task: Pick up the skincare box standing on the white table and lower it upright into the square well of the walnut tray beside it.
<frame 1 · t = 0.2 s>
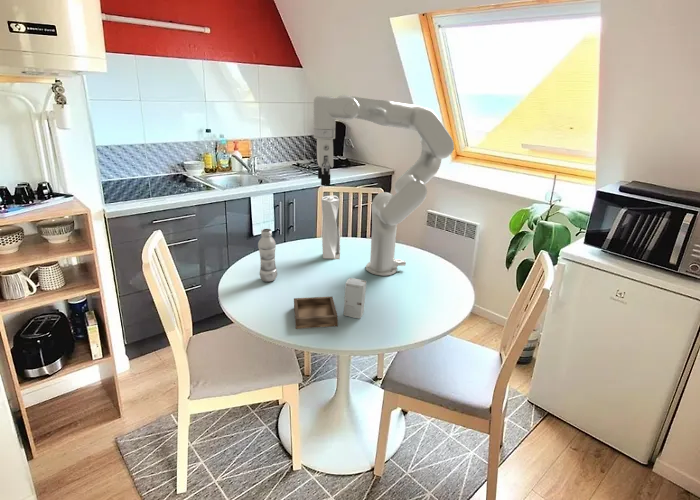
hand: (323, 181, 159), 37 cm above the table, tool pointing down, fingers open, 9 cm apart
skincare box: (354, 314, 145), on the table
plastic bottle: (268, 280, 166), on the table
skyscraper: (330, 257, 189), on the table
walnut tray: (315, 316, 143), on the table
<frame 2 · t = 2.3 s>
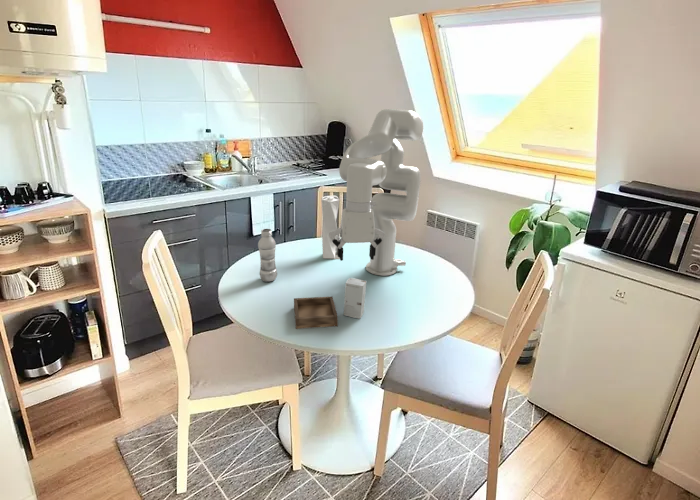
hand: (356, 258, 137), 20 cm above the table, tool pointing down, fingers open, 9 cm apart
nothing on the table moved.
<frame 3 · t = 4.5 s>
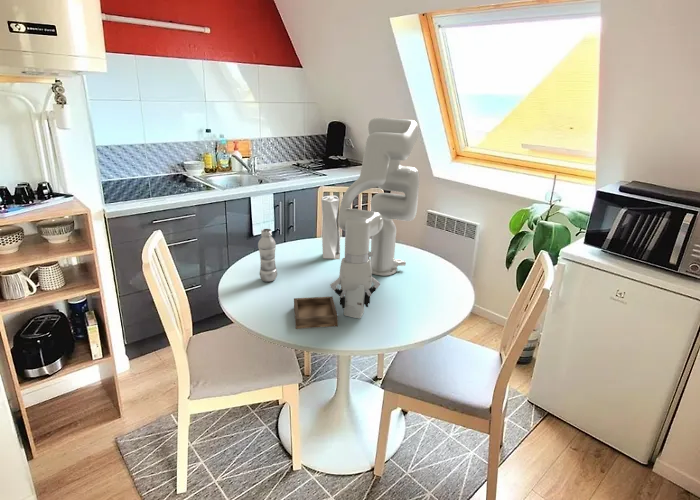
hand: (354, 305, 144), 3 cm above the table, tool pointing down, fingers closed on skincare box, 7 cm apart
skincare box: (354, 314, 145), on the table, touching gripper
everything else where it was.
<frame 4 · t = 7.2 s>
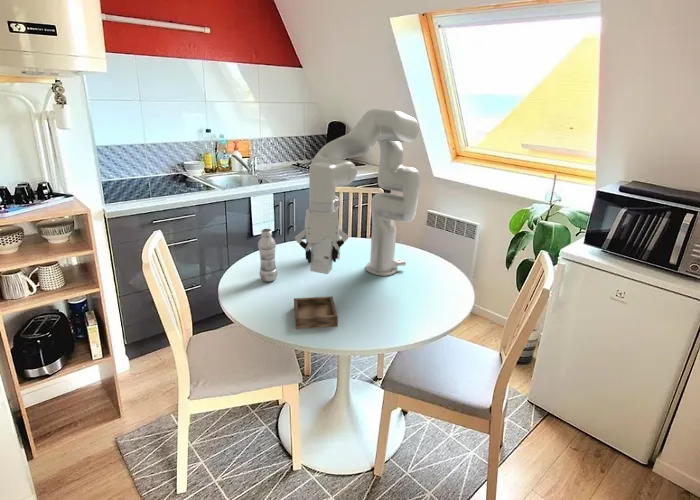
hand: (321, 260, 136), 20 cm above the table, tool pointing down, fingers closed on skincare box, 7 cm apart
skincare box: (321, 270, 137), point 16 cm above the table, touching gripper
everything else where it was.
when the fingers open (6 cm above the table, at t = 10.1 s): skincare box drops 1 cm, resting on walnut tray.
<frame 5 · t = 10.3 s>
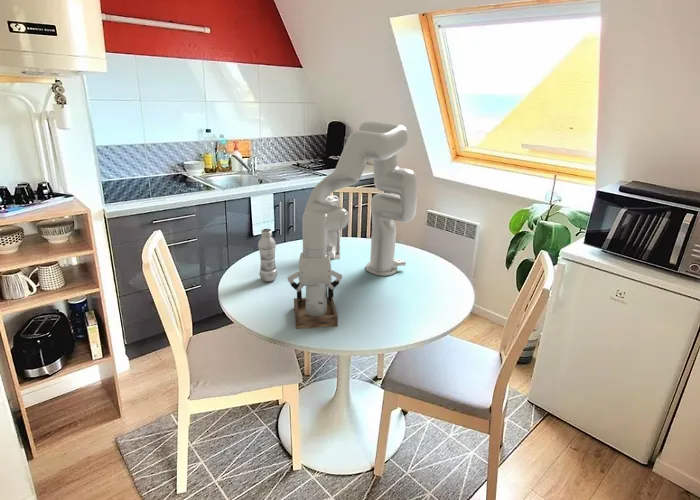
hand: (315, 299, 141), 6 cm above the table, tool pointing down, fingers open, 9 cm apart
skincare box: (316, 314, 143), point 1 cm above the table, touching walnut tray
everything else where it was.
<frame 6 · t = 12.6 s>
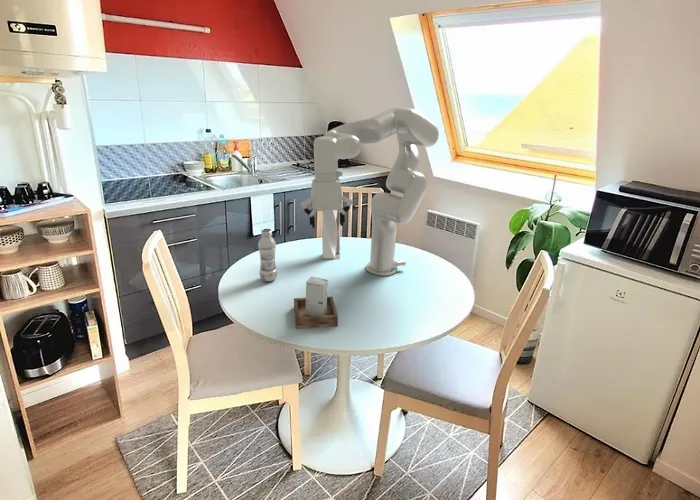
hand: (327, 225, 149), 25 cm above the table, tool pointing down, fingers open, 9 cm apart
nothing on the table moved.
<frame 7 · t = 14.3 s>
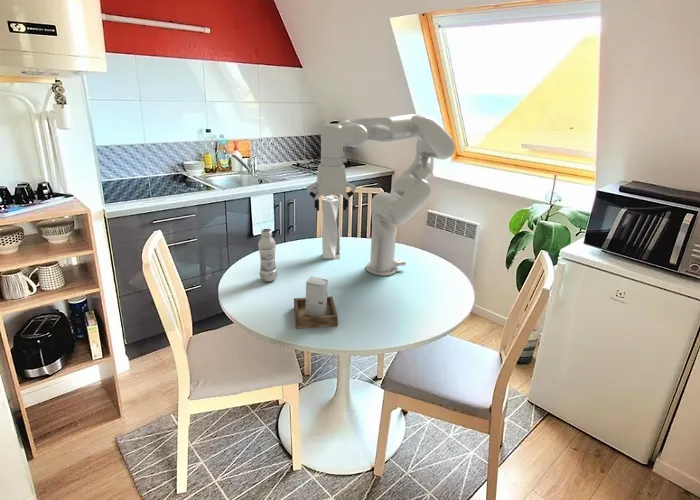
hand: (331, 209, 156), 28 cm above the table, tool pointing down, fingers open, 9 cm apart
nothing on the table moved.
at the end: skincare box 0.5 cm off-centre on the walnut tray, point 0.8 cm above the walnut tray's base; skincare box tilted 0°; the gripper is holding nothing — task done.
